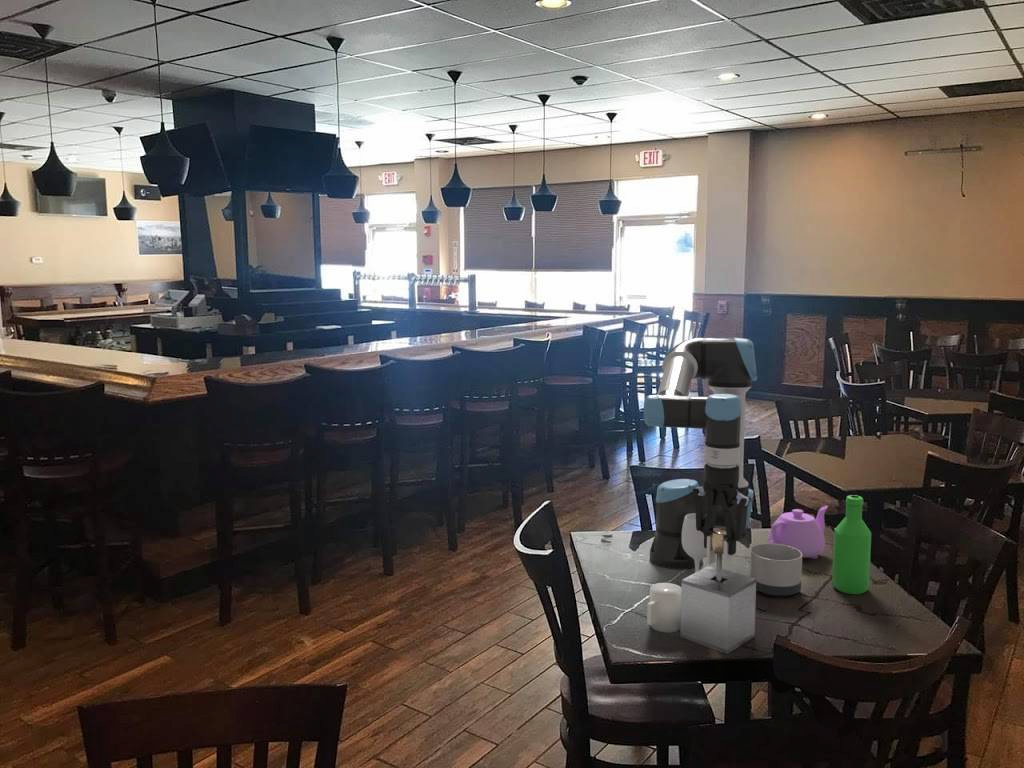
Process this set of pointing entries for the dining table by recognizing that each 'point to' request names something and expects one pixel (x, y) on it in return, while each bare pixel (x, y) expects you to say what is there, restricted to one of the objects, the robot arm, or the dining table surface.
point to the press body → (718, 609)
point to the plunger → (718, 550)
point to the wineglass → (693, 540)
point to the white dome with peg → (664, 607)
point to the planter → (776, 569)
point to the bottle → (852, 550)
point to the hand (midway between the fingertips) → (719, 564)
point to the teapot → (800, 532)
